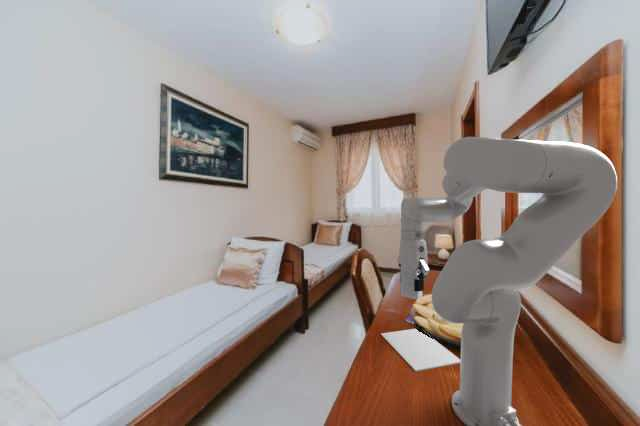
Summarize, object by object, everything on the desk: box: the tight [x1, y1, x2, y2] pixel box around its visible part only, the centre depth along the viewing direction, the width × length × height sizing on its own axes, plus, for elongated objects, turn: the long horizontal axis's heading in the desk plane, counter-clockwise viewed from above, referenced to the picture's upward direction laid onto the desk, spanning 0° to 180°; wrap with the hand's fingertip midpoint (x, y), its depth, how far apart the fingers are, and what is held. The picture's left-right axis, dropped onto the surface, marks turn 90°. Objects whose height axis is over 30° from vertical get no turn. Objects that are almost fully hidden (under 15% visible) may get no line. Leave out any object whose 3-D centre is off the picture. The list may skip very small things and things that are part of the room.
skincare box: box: [400, 261, 423, 301], centre depth 84 cm, size 6×4×12 cm
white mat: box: [380, 328, 461, 372], centre depth 81 cm, size 20×16×1 cm
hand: (411, 286), depth 84 cm, fingers closed on skincare box, 7 cm apart
